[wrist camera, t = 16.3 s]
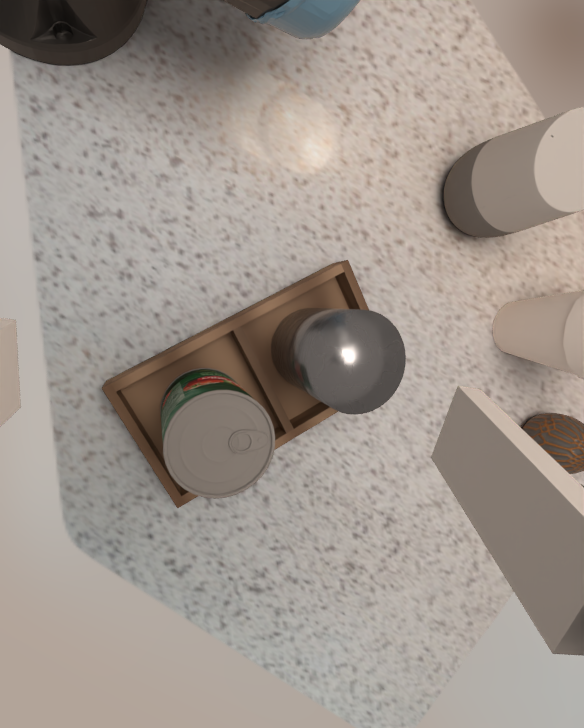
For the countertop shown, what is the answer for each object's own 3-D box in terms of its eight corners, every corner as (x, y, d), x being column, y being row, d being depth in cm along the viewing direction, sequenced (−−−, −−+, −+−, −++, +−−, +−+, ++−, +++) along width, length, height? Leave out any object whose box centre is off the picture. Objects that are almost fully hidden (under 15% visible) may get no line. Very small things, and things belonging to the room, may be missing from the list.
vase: (561, 432, 56) (631, 455, 48) (527, 471, 55) (593, 500, 47) (537, 396, 54) (606, 413, 46) (501, 435, 53) (565, 460, 45)
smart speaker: (419, 212, 46) (527, 175, 33) (457, 134, 46) (580, 67, 33) (482, 257, 49) (603, 240, 36) (517, 184, 49) (651, 141, 36)
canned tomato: (162, 453, 40) (165, 507, 30) (157, 370, 39) (158, 394, 29) (246, 444, 42) (276, 490, 32) (244, 365, 41) (274, 386, 31)
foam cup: (538, 367, 54) (652, 386, 41) (477, 366, 51) (580, 386, 39) (548, 290, 52) (669, 286, 40) (486, 284, 50) (595, 279, 37)
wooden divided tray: (175, 492, 42) (177, 508, 39) (106, 380, 39) (101, 388, 35) (379, 370, 47) (396, 375, 44) (333, 263, 44) (347, 260, 40)
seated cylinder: (255, 361, 42) (289, 381, 31) (299, 291, 42) (346, 288, 32) (319, 401, 44) (370, 432, 34) (360, 335, 45) (422, 345, 34)
